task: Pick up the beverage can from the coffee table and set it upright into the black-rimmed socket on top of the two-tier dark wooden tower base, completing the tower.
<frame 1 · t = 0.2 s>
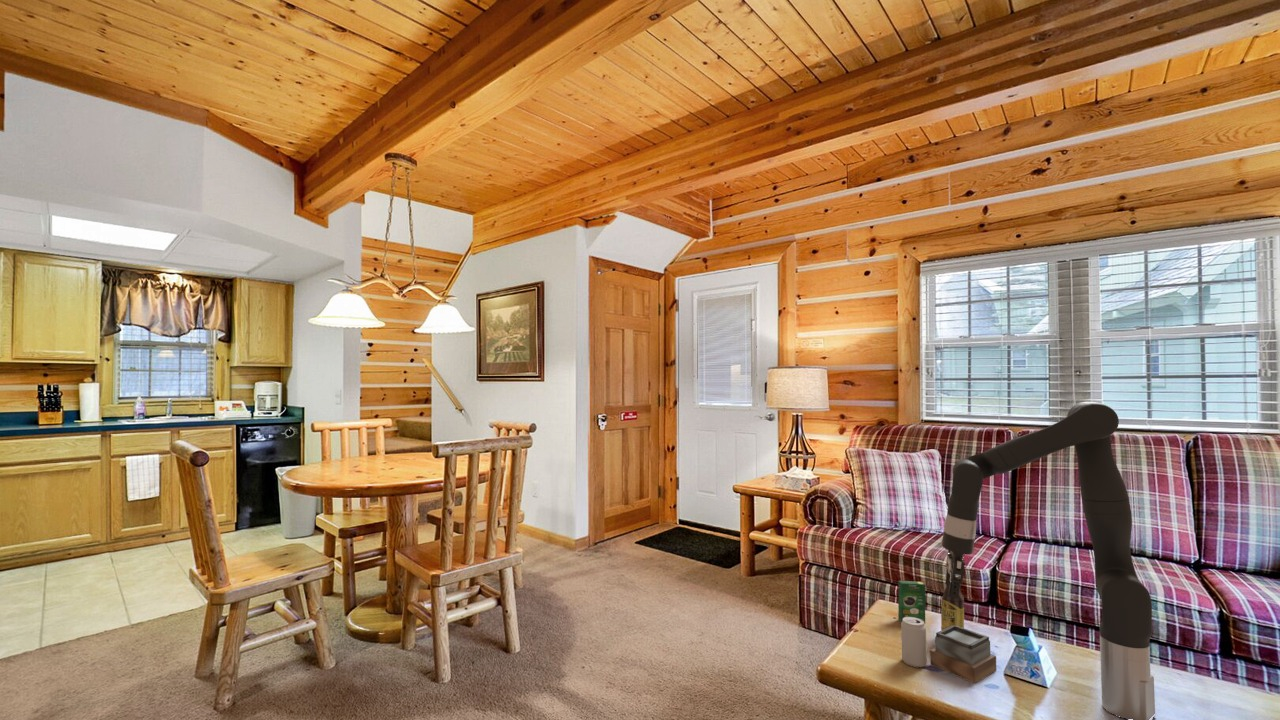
hand: (951, 591, 154), 23 cm above the table, tool pointing down, fingers open, 8 cm apart
coffee box: (912, 622, 188), on the table
sauce bottle: (953, 638, 176), on the table
beverage can: (914, 663, 160), on the table
tower base: (963, 667, 158), on the table
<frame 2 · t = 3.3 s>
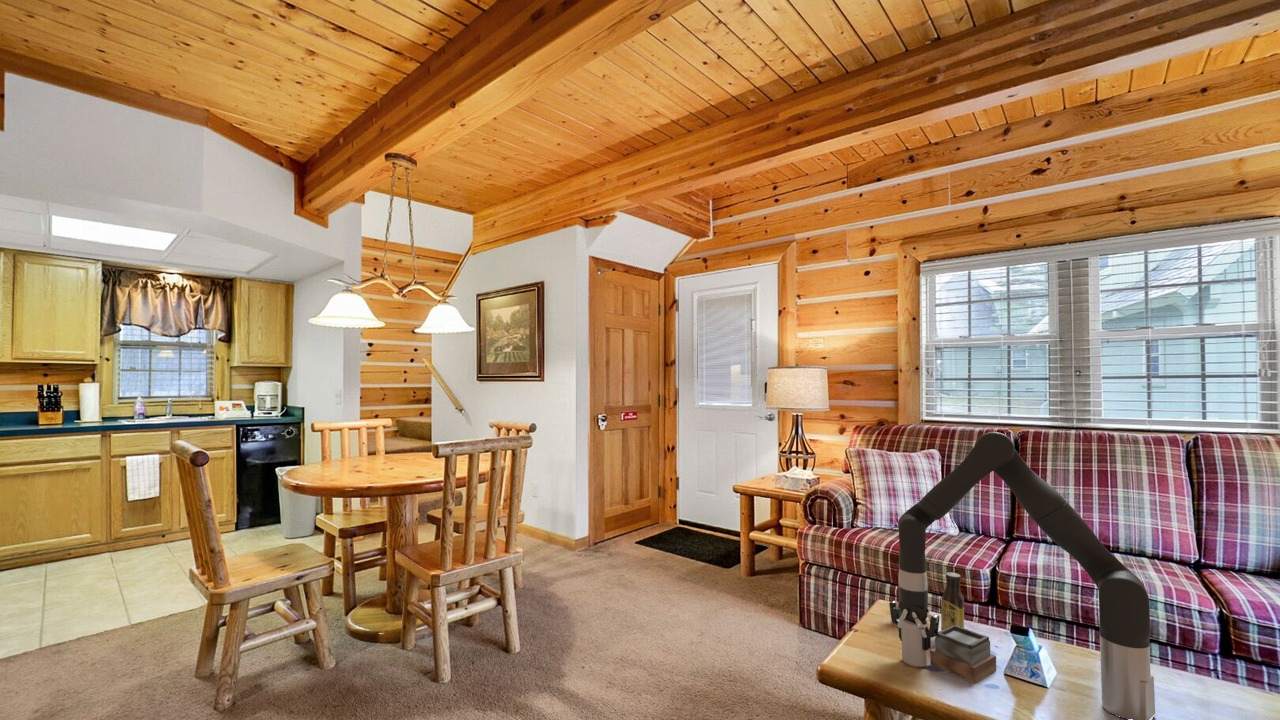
hand: (914, 644, 160), 5 cm above the table, tool pointing down, fingers closed on beverage can, 6 cm apart
beverage can: (914, 663, 160), on the table, touching gripper
everything else where it was.
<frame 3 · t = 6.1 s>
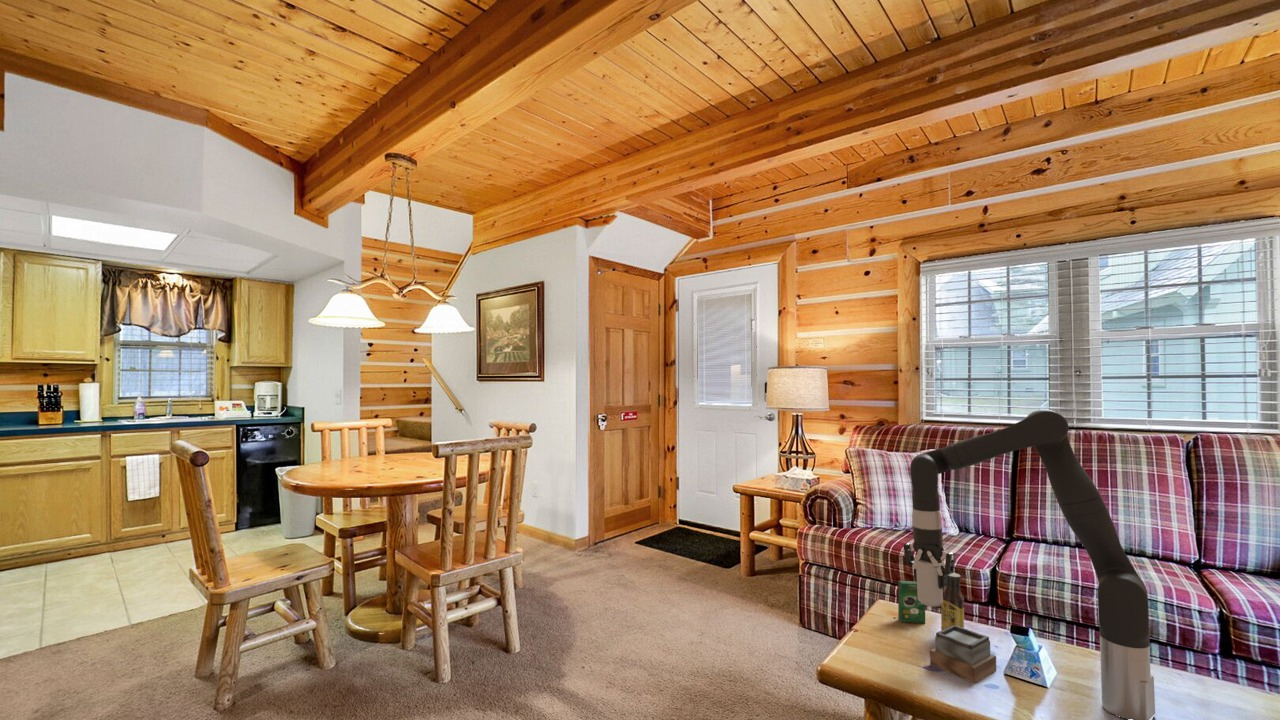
hand: (930, 584, 160), 23 cm above the table, tool pointing down, fingers closed on beverage can, 6 cm apart
beverage can: (930, 603, 160), point 17 cm above the table, touching gripper
everything else where it was.
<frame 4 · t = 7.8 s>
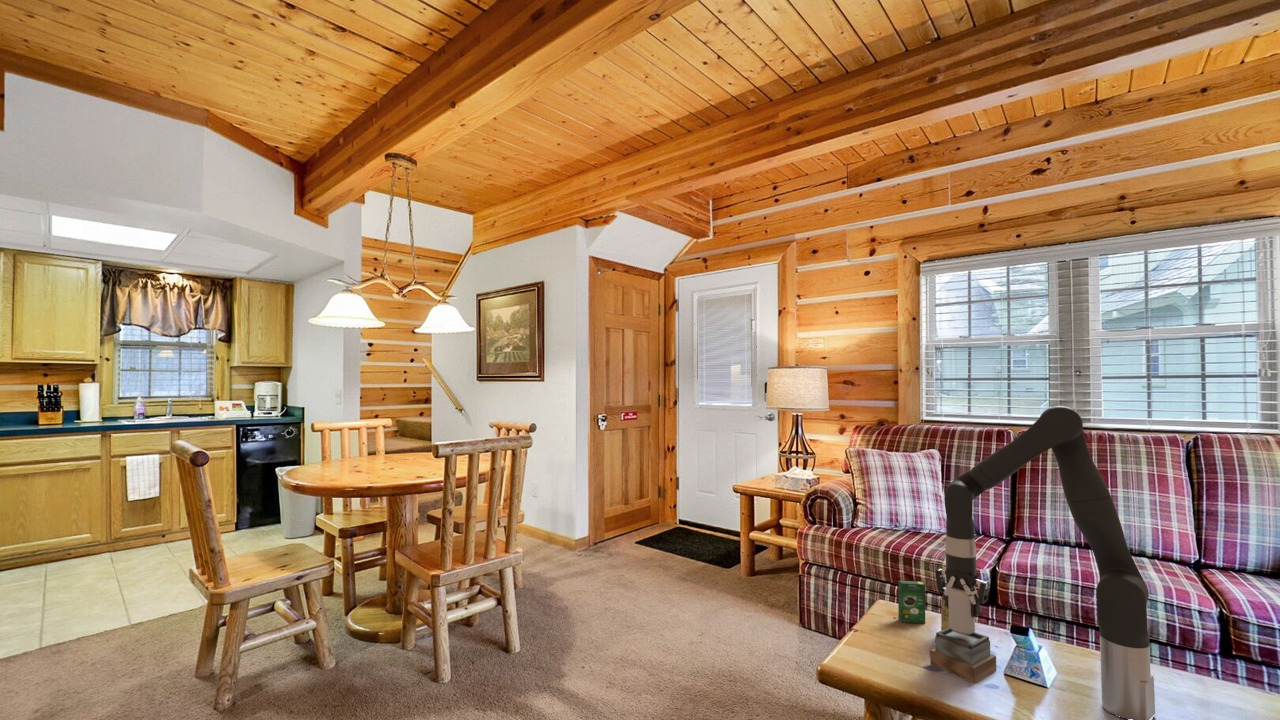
hand: (962, 612, 158), 15 cm above the table, tool pointing down, fingers closed on beverage can, 6 cm apart
beverage can: (961, 631, 158), point 10 cm above the table, touching gripper
everything else where it was.
when the fingers open (13 cm above the table, at t = 8.8 s): beverage can stays where it is, resting on tower base.
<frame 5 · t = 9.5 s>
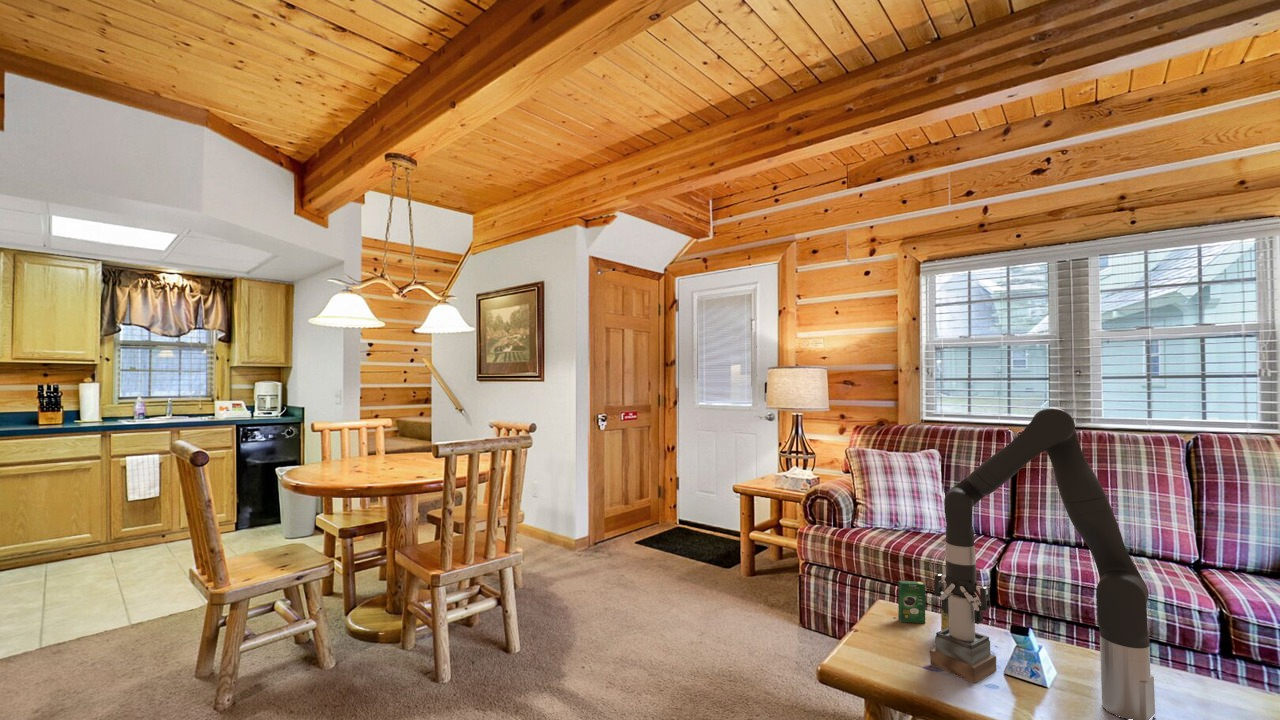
hand: (961, 617, 158), 14 cm above the table, tool pointing down, fingers open, 8 cm apart
beverage can: (962, 639, 158), point 8 cm above the table, touching tower base
everything else where it was.
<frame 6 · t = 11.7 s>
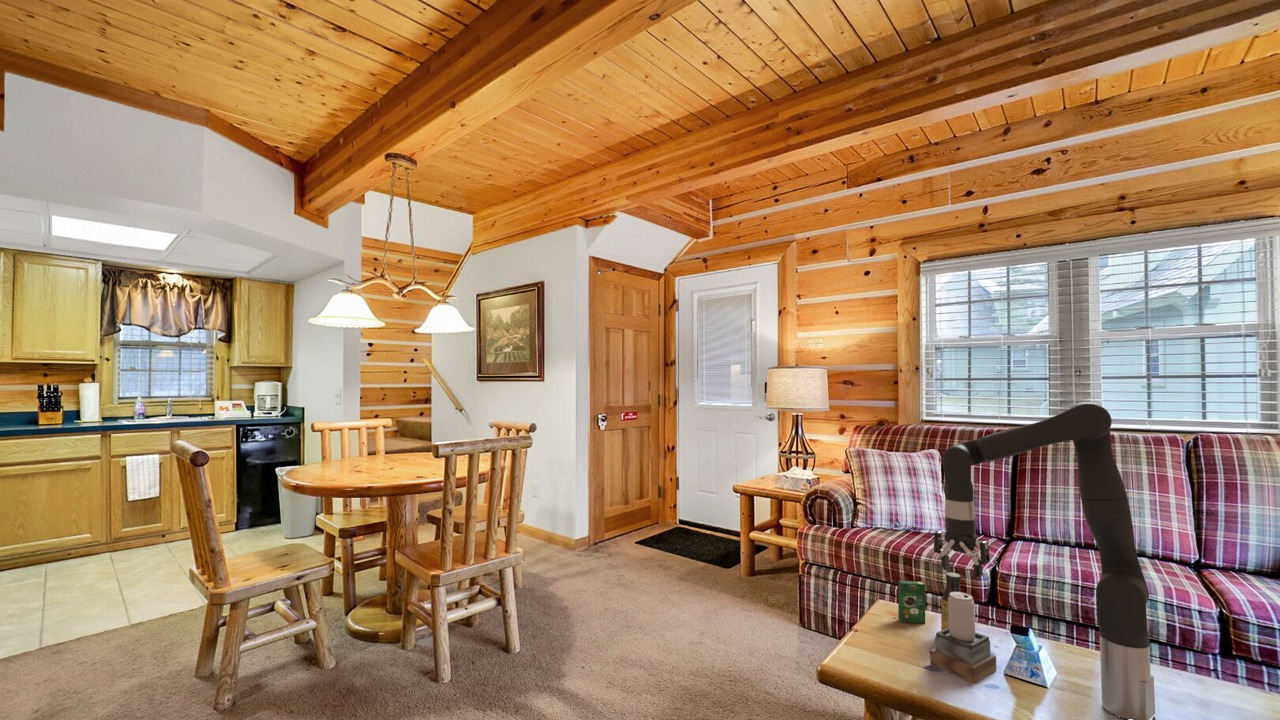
hand: (961, 573, 159), 26 cm above the table, tool pointing down, fingers open, 8 cm apart
nothing on the table moved.
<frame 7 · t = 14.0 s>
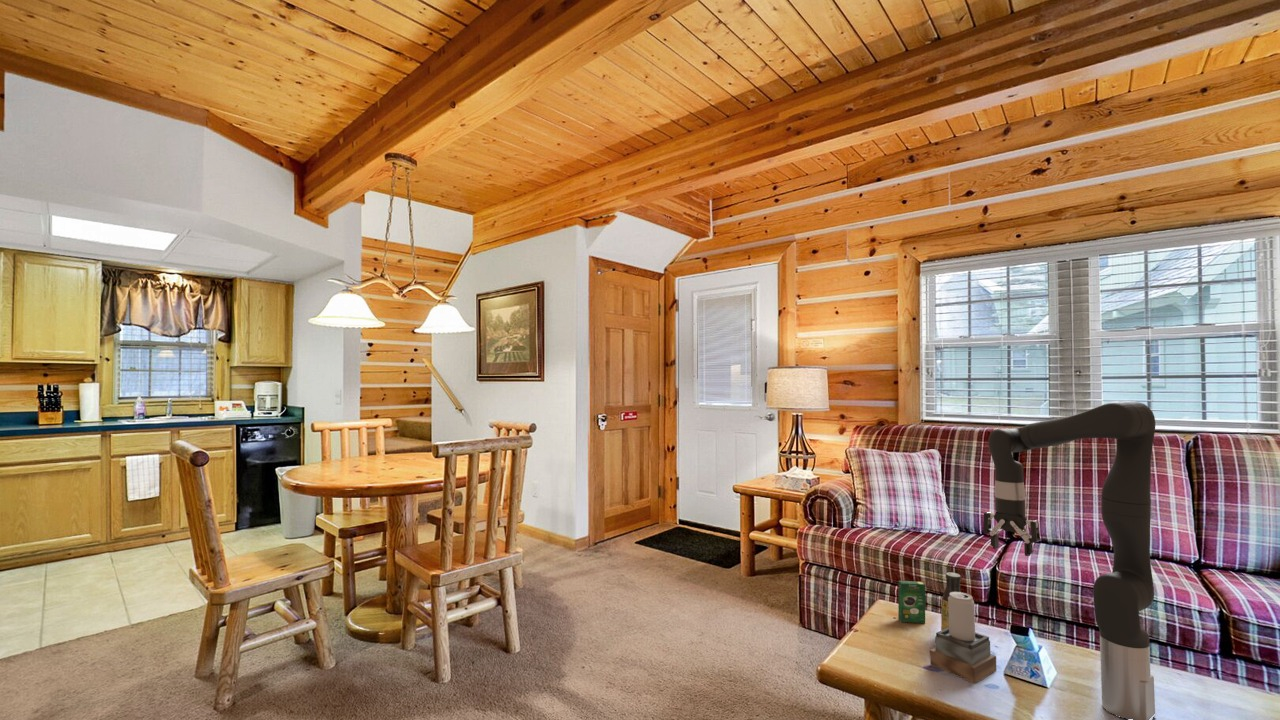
hand: (1011, 552, 165), 30 cm above the table, tool pointing down, fingers open, 8 cm apart
nothing on the table moved.
at the end: beverage can 0.1 cm off-centre on the tower base, point 7.8 cm above the tower base's base; beverage can tilted 0°; the gripper is holding nothing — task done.
